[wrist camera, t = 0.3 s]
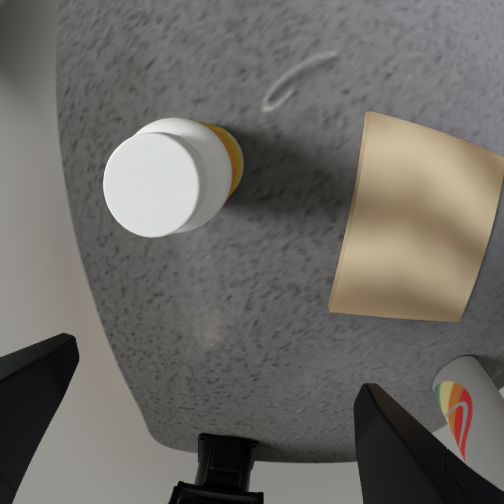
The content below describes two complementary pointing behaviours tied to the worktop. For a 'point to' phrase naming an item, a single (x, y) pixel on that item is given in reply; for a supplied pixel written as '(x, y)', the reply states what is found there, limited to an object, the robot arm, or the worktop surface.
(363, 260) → the oak board
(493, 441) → the lotion bottle
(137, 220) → the supplement bottle
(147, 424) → the worktop surface
